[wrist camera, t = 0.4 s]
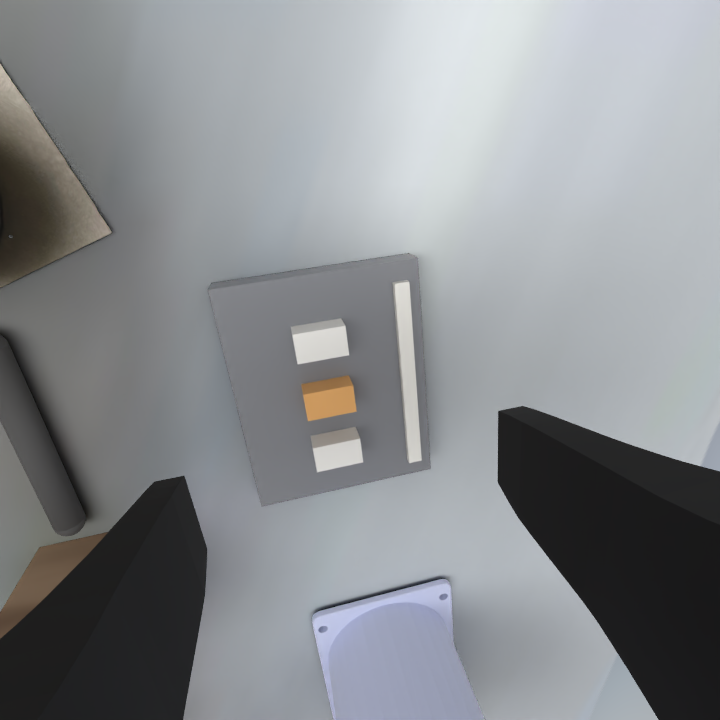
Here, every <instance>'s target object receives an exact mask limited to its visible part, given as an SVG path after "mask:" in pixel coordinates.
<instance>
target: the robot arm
mask: <svg viewBox="0 0 720 720" xmlns="http://www.w3.org/2000/svg"><path fill="white" fill-rule="evenodd" d="M498 483H499V485H500V487H501V489H502V491H503V492H504V494H505V496H506V498H507V500H508V501H509V503H510V505H511V506H512V508H513V510H514V511H515V513H516V515H517V516H518V518H519V519H520V521H521V522H522V523H523V525H524V526H525V527H526V529H527V530H528V531H529V533H530V534H531V535H532V537H533V538H534V539H535V540H536V542H537V543H538V544H539V546H540V547H541V548H542V550H543V551H544V552H545V553H546V555H547V556H548V557H549V559H550V560H551V561H552V562H553V564H554V565H555V566H556V568H557V569H558V570H559V571H560V573H561V574H562V575H563V577H564V578H565V579H566V580H567V582H568V583H569V584H570V585H571V587H572V588H573V589H574V591H575V592H576V593H577V594H578V596H579V597H580V598H581V600H582V601H583V602H584V604H585V605H586V606H587V608H588V609H589V611H590V612H591V613H592V615H593V616H594V618H595V619H596V620H597V622H598V623H599V625H600V626H601V628H602V629H603V631H604V633H605V634H606V636H607V637H608V639H609V640H610V642H611V643H612V645H613V647H614V648H615V650H616V651H617V653H618V654H619V656H620V658H621V659H622V661H623V662H624V664H625V665H626V667H627V668H628V670H629V672H630V673H631V675H632V677H633V678H634V680H635V682H636V683H637V685H638V686H639V688H640V690H641V691H642V693H643V695H644V696H645V698H646V700H647V701H648V703H649V705H650V706H651V708H652V710H653V711H654V713H655V715H656V716H657V718H658V719H659V720H720V472H719V471H716V470H712V469H708V468H704V467H701V466H697V465H693V464H689V463H686V462H682V461H679V460H676V459H672V458H669V457H666V456H663V455H660V454H657V453H654V452H650V451H647V450H644V449H641V448H638V447H635V446H632V445H629V444H627V443H624V442H621V441H618V440H615V439H612V438H610V437H607V436H604V435H602V434H599V433H596V432H594V431H591V430H588V429H586V428H583V427H580V426H578V425H575V424H572V423H570V422H567V421H565V420H562V419H559V418H557V417H554V416H551V415H548V414H546V413H543V412H540V411H537V410H534V409H531V408H527V407H524V406H521V407H516V408H511V409H506V410H501V411H498ZM206 565H207V547H206V544H205V541H204V537H203V534H202V531H201V528H200V525H199V522H198V518H197V515H196V512H195V509H194V506H193V502H192V499H191V496H190V493H189V490H188V486H187V483H186V480H185V477H184V476H180V477H176V478H171V479H166V480H161V481H156V482H154V483H153V484H152V485H151V486H150V487H149V488H148V489H147V490H146V491H145V492H144V493H143V494H142V495H141V497H140V498H139V499H138V500H137V501H136V502H135V503H134V504H133V505H132V507H131V508H130V509H129V510H128V511H127V512H126V513H125V514H124V515H123V517H122V518H121V519H120V520H119V521H118V522H117V523H116V524H115V525H114V527H113V528H112V529H111V530H110V531H109V532H108V533H107V534H106V535H105V536H104V537H103V539H102V540H101V541H100V542H99V543H98V544H97V545H96V546H95V547H94V548H93V549H92V551H91V552H90V553H89V554H88V555H87V556H86V557H85V558H84V559H83V560H82V561H81V562H80V563H79V564H78V565H77V566H76V567H75V568H74V569H73V570H72V571H71V572H70V573H69V574H68V575H67V576H66V577H65V578H64V579H63V580H62V581H61V582H60V583H59V584H58V585H57V586H56V587H55V588H54V589H53V590H52V591H51V592H50V593H49V594H48V595H47V596H46V597H45V598H44V599H43V600H42V601H41V602H40V603H39V604H38V605H37V606H36V607H35V608H34V609H33V610H32V611H31V612H29V613H28V614H27V615H26V616H25V617H24V618H23V619H22V620H21V621H20V622H19V623H17V624H16V625H15V626H14V627H13V628H12V629H11V630H10V631H8V632H7V633H6V634H5V635H4V636H3V637H2V638H0V720H183V716H184V710H185V704H186V699H187V693H188V688H189V682H190V677H191V671H192V666H193V660H194V654H195V649H196V643H197V638H198V632H199V626H200V621H201V615H202V609H203V603H204V597H205V584H206ZM312 625H313V629H314V634H315V638H316V643H317V647H318V652H319V656H320V661H321V665H322V670H323V674H324V679H325V683H326V688H327V692H328V697H329V701H330V706H331V710H332V715H333V719H334V720H485V718H484V715H483V713H482V711H481V708H480V706H479V703H478V701H477V699H476V696H475V694H474V691H473V689H472V687H471V684H470V682H469V679H468V677H467V675H466V672H465V670H464V667H463V665H462V663H461V660H460V658H459V655H458V653H457V651H456V648H455V646H454V640H453V618H452V595H451V586H450V583H449V581H448V580H446V579H439V580H435V581H432V582H428V583H424V584H420V585H416V586H413V587H409V588H405V589H401V590H397V591H394V592H390V593H386V594H382V595H378V596H375V597H371V598H367V599H363V600H359V601H355V602H352V603H348V604H344V605H340V606H336V607H333V608H329V609H325V610H321V611H318V612H316V613H315V614H314V615H313V616H312Z"/></svg>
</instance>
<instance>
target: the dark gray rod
mask: <svg viewBox="0 0 720 720" xmlns="http://www.w3.org/2000/svg"><path fill="white" fill-rule="evenodd" d="M0 421H1V423H2V425H3V427H4V429H5V431H6V433H7V435H8V437H9V439H10V441H11V443H12V445H13V447H14V449H15V451H16V454H17V456H18V458H19V460H20V462H21V464H22V466H23V468H24V470H25V472H26V474H27V476H28V478H29V480H30V482H31V484H32V486H33V488H34V490H35V492H36V494H37V496H38V498H39V500H40V503H41V505H42V507H43V509H44V511H45V513H46V515H47V517H48V519H49V521H50V523H51V525H52V527H53V529H54V531H55V532H56V533H57V534H59V535H61V536H71V535H74V534H76V533H78V532H79V531H80V530H81V529H82V528H83V526H84V524H85V521H86V516H85V513H84V511H83V509H82V506H81V504H80V502H79V500H78V497H77V495H76V493H75V491H74V488H73V486H72V484H71V482H70V480H69V477H68V475H67V473H66V471H65V468H64V466H63V464H62V462H61V459H60V457H59V455H58V453H57V450H56V448H55V446H54V444H53V441H52V439H51V437H50V435H49V433H48V430H47V428H46V426H45V424H44V421H43V419H42V417H41V415H40V412H39V410H38V408H37V406H36V403H35V401H34V399H33V397H32V395H31V392H30V390H29V388H28V386H27V383H26V381H25V379H24V377H23V374H22V372H21V370H20V368H19V365H18V363H17V361H16V359H15V356H14V354H13V352H12V350H11V348H10V345H9V343H8V341H7V340H6V339H5V338H4V337H3V336H2V335H0Z"/></svg>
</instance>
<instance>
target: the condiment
mask: <svg viewBox="0 0 720 720" xmlns="http://www.w3.org/2000/svg"><path fill="white" fill-rule="evenodd" d="M110 233H112V232H111V230H110V229H109V227H108V226H107V224H106V223H105V221H104V219H103V218H102V216H101V215H100V214H99V212H98V211H97V208H96V206H95V205H94V203H93V202H92V200H91V199H90V197H89V196H88V194H87V193H86V191H85V190H84V188H83V187H82V185H81V184H80V182H79V180H78V179H77V177H76V176H75V175H74V173H73V172H72V170H71V169H70V167H69V166H68V164H67V162H66V160H65V159H64V157H63V156H62V154H61V153H60V151H59V150H58V149H57V147H56V146H55V144H54V143H53V141H52V140H51V138H50V137H49V135H48V134H47V132H46V131H45V129H44V128H43V126H42V125H41V123H40V122H39V120H38V119H37V117H36V116H35V114H34V112H33V111H32V109H31V107H30V105H29V104H28V103H27V102H26V100H25V99H24V98H23V96H22V95H21V94H20V92H19V91H18V89H17V88H16V86H15V85H14V84H13V83H12V81H11V79H10V78H9V76H8V75H7V73H6V72H5V70H4V69H3V67H2V65H1V64H0V288H1V287H3V286H5V285H8V284H9V283H11V282H13V281H15V280H17V279H19V278H21V277H23V276H25V275H27V274H29V273H31V272H33V271H35V270H37V269H39V268H41V267H43V266H46V265H48V264H50V263H52V262H54V261H56V260H58V259H60V258H62V257H64V256H66V255H68V254H70V253H72V252H74V251H76V250H78V249H80V248H82V247H84V246H86V245H88V244H90V243H92V242H94V241H96V240H98V239H100V238H102V237H104V236H106V235H108V234H110ZM9 235H12V236H13V238H9V237H8V236H9Z"/></svg>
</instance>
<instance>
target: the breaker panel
mask: <svg viewBox="0 0 720 720" xmlns="http://www.w3.org/2000/svg"><path fill="white" fill-rule="evenodd" d="M208 293H209V297H210V301H211V305H212V309H213V313H214V317H215V321H216V325H217V329H218V333H219V337H220V341H221V345H222V349H223V353H224V357H225V361H226V365H227V369H228V373H229V377H230V381H231V385H232V389H233V393H234V397H235V401H236V405H237V409H238V413H239V417H240V421H241V425H242V429H243V433H244V437H245V441H246V445H247V450H248V454H249V458H250V462H251V466H252V470H253V474H254V478H255V482H256V486H257V490H258V494H259V498H260V502H261V506H267V505H271V504H275V503H280V502H284V501H289V500H293V499H298V498H302V497H307V496H311V495H315V494H320V493H324V492H329V491H333V490H338V489H342V488H347V487H351V486H356V485H360V484H364V483H369V482H373V481H378V480H382V479H387V478H391V477H396V476H400V475H405V474H409V473H413V472H418V471H422V470H427V469H431V466H430V450H429V433H428V417H427V400H426V383H425V367H424V350H423V334H422V317H421V300H420V284H419V267H418V258H417V257H415V256H413V255H411V254H409V253H407V254H401V255H394V256H388V257H381V258H374V259H368V260H361V261H355V262H348V263H341V264H335V265H328V266H321V267H315V268H308V269H302V270H295V271H288V272H282V273H275V274H269V275H262V276H255V277H249V278H242V279H235V280H229V281H222V282H216V283H211V285H210V287H209V289H208Z"/></svg>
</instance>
